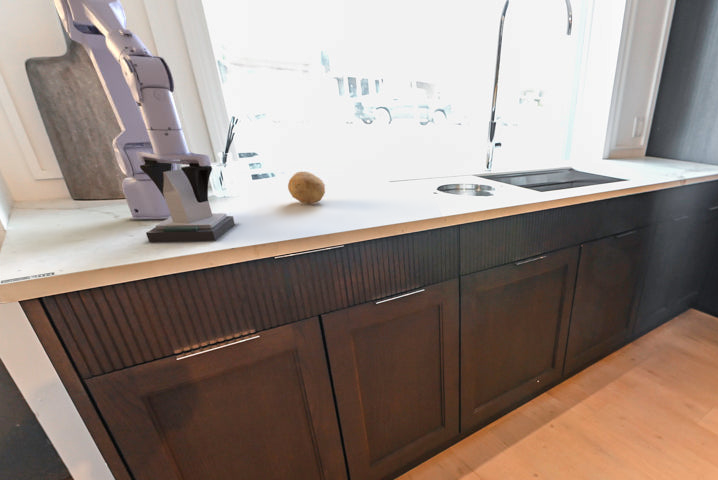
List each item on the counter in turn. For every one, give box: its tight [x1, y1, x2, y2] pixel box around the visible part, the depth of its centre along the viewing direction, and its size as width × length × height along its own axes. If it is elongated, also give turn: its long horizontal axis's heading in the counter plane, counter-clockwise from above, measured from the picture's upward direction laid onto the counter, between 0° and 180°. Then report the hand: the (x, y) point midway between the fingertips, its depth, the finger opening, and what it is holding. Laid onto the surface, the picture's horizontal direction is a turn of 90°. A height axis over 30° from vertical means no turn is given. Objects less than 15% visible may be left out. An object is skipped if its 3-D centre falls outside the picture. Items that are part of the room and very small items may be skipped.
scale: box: [145, 212, 236, 243], centre depth 92 cm, size 12×13×3 cm
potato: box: [287, 171, 326, 205], centre depth 119 cm, size 10×14×8 cm
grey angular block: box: [163, 168, 213, 223], centre depth 89 cm, size 4×7×10 cm, turn 171°
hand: (186, 200), depth 90 cm, fingers open, 7 cm apart
